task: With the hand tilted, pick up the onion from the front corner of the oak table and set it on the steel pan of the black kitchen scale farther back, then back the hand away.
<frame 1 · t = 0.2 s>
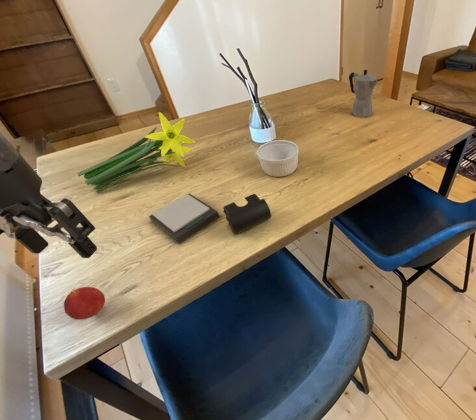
hand: (66, 251, 43), 18 cm above the table, tool pointing down, fingers open, 8 cm apart
coffeepot: (360, 112, 125), on the table
daffodil flowers: (148, 177, 89), on the table
ramekin: (280, 168, 92), on the table
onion: (96, 312, 55), on the table
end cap: (250, 224, 73), on the table
kitchen scale: (186, 219, 74), on the table
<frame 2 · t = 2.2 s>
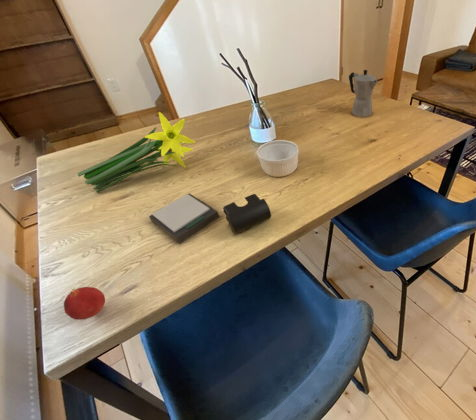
nothing on the table moved.
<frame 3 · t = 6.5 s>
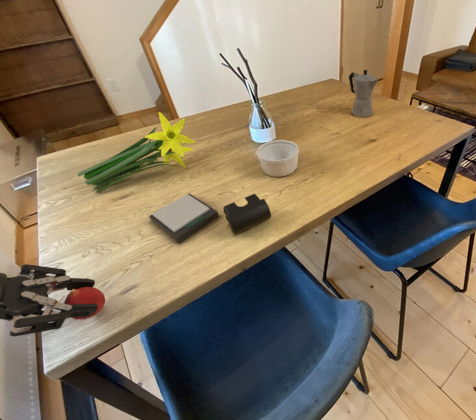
hand: (94, 296, 53), 4 cm above the table, tool tilted 45°, fingers closed on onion, 5 cm apart
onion: (96, 312, 55), on the table, touching gripper
everything else where it was.
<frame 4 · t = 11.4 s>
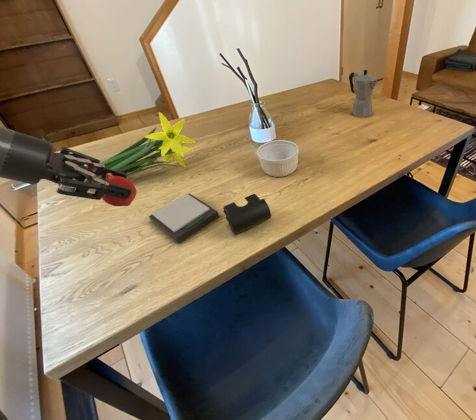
hand: (126, 186, 55), 18 cm above the table, tool tilted 45°, fingers closed on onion, 5 cm apart
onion: (127, 206, 58), point 14 cm above the table, touching gripper
everything else where it was.
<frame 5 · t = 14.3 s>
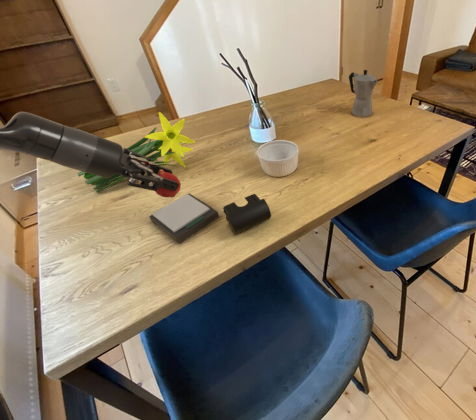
hand: (173, 180, 67), 12 cm above the table, tool tilted 45°, fingers closed on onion, 5 cm apart
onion: (172, 197, 69), point 8 cm above the table, touching gripper
everything else where it was.
when the fingers open (7 cm above the table, at t = 16.3 s): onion stays where it is, resting on kitchen scale.
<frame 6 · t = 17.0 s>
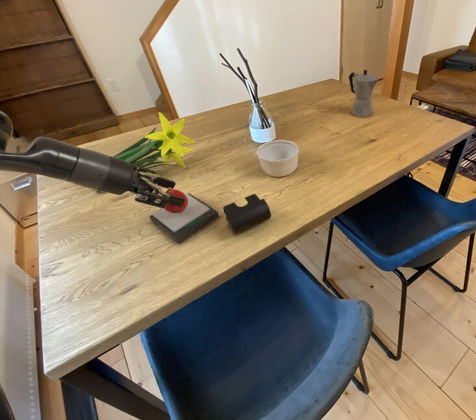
hand: (178, 194, 69), 8 cm above the table, tool tilted 45°, fingers open, 8 cm apart
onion: (180, 212, 73), point 2 cm above the table, touching kitchen scale
everything else where it was.
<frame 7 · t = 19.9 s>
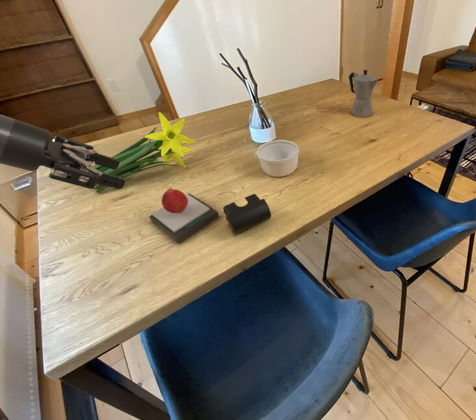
hand: (120, 174, 56), 19 cm above the table, tool tilted 45°, fingers open, 8 cm apart
nothing on the table moved.
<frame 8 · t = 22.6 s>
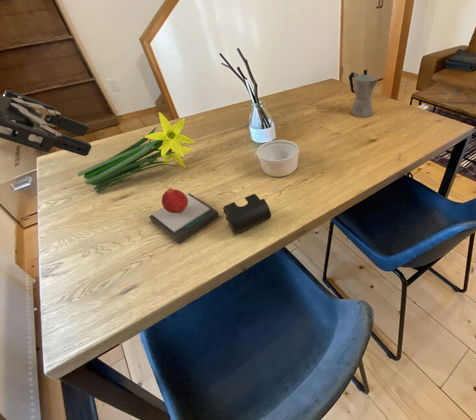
hand: (87, 140, 48), 29 cm above the table, tool tilted 45°, fingers open, 8 cm apart
nothing on the table moved.
at the end: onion inside the target area on the kitchen scale (0.5 cm from its centre), point 2.4 cm above the kitchen scale's base; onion tilted 0°; the gripper is holding nothing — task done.
